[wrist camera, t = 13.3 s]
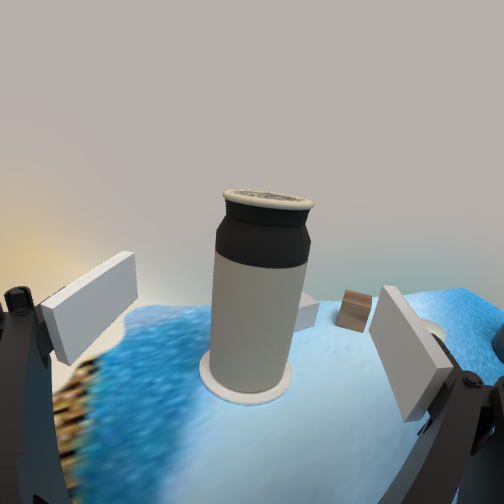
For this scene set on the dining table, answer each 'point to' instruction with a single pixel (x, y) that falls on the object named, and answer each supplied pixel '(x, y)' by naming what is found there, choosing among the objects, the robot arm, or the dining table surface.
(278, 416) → the dining table surface
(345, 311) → the walnut block
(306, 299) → the grey cube
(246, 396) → the saucer
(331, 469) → the dining table surface
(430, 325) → the beige rounded cylinder
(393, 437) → the dining table surface
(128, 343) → the dining table surface
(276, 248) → the travel mug
